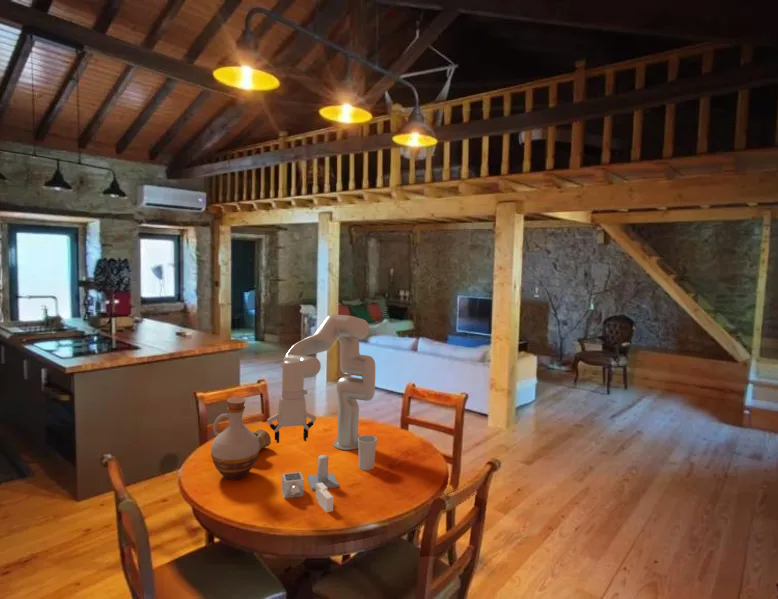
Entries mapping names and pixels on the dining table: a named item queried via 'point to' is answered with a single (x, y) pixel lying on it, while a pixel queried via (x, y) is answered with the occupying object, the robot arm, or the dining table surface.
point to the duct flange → (323, 475)
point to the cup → (366, 451)
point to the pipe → (263, 438)
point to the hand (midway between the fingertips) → (291, 440)
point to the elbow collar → (292, 485)
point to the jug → (234, 443)
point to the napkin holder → (324, 497)
